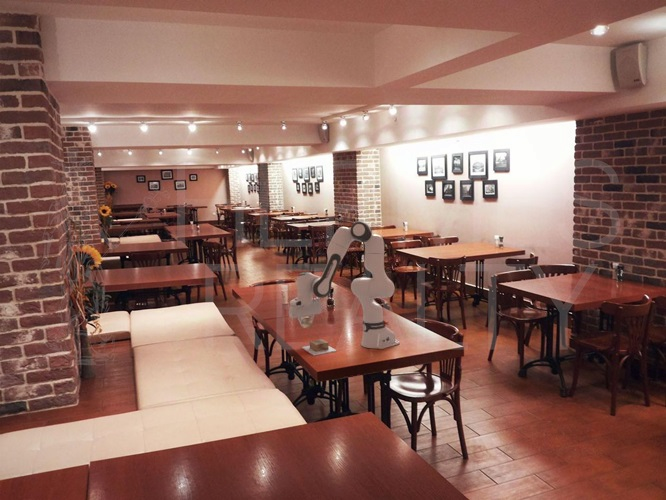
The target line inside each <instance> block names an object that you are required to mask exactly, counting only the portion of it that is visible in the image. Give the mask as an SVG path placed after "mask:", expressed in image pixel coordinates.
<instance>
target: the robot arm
mask: <svg viewBox="0 0 666 500" xmlns="http://www.w3.org/2000/svg"><path fill="white" fill-rule="evenodd" d="M354 241H355V242H359V243H364V259H363V262H364V263H363V267H364V268H365V270H367V271H369V272H370V273H371V274H372V275H371V277H357V278H354V279H353V280H352V282H351V283H350V290H351V292H352V294H353V295H354V296H356V298H357V299H358V300H359V302H360V304H361V307H362V315H363V317H362V318H363V320H362V339H361V344H360V345H361V347H363V348H368V349H379V350H382V349H387V348H390V347H393V346H397V345H400V340H398V339H396V334H395V332H394V331H393V330H391V329H390V328H388V327H387V326H388V325H389V323H390V321H387V320H384V319H383V318H384V317H383V312H384V311H383V307H382V305H381V304H379V303H378V302H377V301H376V299H374V298H377V299H387V298H388V299H389V298H391V297H392V296H393V295H394V293H395V285H394V282H393V281H392V280H391V279H390V278H389V277H388V275H387V274H386V270H385V241H384V239H383V237H382V236H381V235H379V234H377V233H376V234H375V233H373V231H372V228H371V226H370V225H369V224H368V223H366V222H364V221H361V220H359V221H358V220H357V221H355V222H353V224H351V226H350V228H349V227H347V226H340V227H339V228H338V229H336V231H335V233H334V234H333V236H332V237H331V240H330V241H329V244H328V245H327V250H326V254H327V256H326V257H327V263H326V266H325V269H324V271H323V273H322V275H321V276H319V275H316V274H313V273H311V272H310V271H304V272H301V273H299V274H298V275H297V277H296V289H297V295H296V296H297V297H294V298H293V299H291V300H290V301H289V305H290V306H289V308H288V315H289V316H288V317H289V318H290V319H297V320H298V322H299V325H301V324H303V321H301V318H302V317H307V316H308V317H311V318H312V323H313V322H314V318H315V315H319V314H322V313H323V307H322V300H321V299H323V298H326V297H328V296H329V295H330V294H331V291H332V282H333V279H334V278H335V274H336V273H337V270H338V268H339V266H340V264H341V262H342V260H343V259H344V257H345V255H346V254H347V252H348V250H349V247H350V246H351V244H352V242H354ZM313 294H314V295H315V296H316V298H314V297H313V296H314V295H313ZM386 325H387V326H386Z"/></svg>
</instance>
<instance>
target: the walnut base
mask: <svg viewBox="0 0 666 500" xmlns="http://www.w3.org/2000/svg"><path fill="white" fill-rule="evenodd" d="M308 343H309V346H310V349H312V350H314V351H315V352H317V351H323V350H328V349H329V342H328V341H327V340H325V339H323V338H320V339H315V340H309V342H308Z"/></svg>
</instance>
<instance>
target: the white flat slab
mask: <svg viewBox="0 0 666 500" xmlns="http://www.w3.org/2000/svg"><path fill="white" fill-rule="evenodd" d="M301 349H303V350H305V351H306V352H308V353H309V354H310V355H312V356H314V357H315V356H318V355H319V356H320V355H325V354H330V353H336V352H338V350H337V349H335V348H333V347H331V346H329V349H328V350H323V351H317V352H315V351H314V350H312V349H310V345H305V346H302V347H301Z"/></svg>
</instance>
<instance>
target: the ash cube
mask: <svg viewBox="0 0 666 500" xmlns="http://www.w3.org/2000/svg"><path fill="white" fill-rule="evenodd" d="M301 321H303V324H300V327H302V328H303V329H304V328H305V329H306V328H311V327H313V322H312V318H311V316H304V317H301Z"/></svg>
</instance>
